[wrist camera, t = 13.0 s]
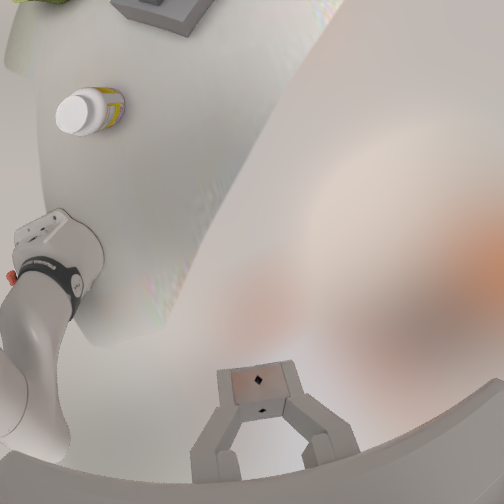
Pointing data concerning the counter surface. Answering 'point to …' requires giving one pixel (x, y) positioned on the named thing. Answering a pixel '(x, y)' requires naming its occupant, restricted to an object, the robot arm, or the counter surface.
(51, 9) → the counter surface
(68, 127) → the supplement bottle
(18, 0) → the plant pot
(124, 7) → the box
